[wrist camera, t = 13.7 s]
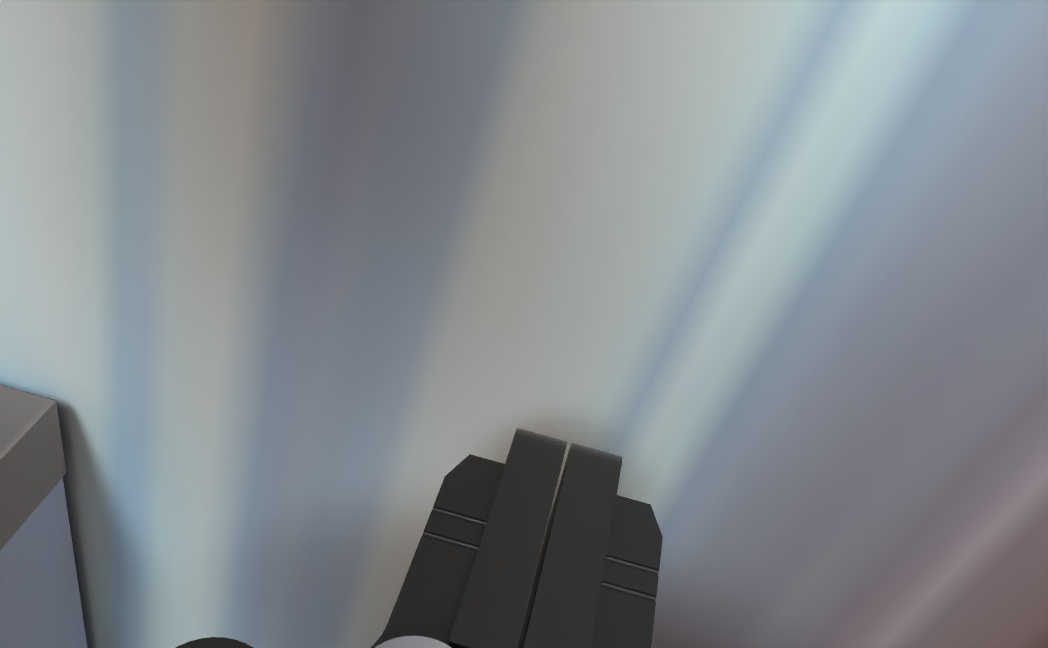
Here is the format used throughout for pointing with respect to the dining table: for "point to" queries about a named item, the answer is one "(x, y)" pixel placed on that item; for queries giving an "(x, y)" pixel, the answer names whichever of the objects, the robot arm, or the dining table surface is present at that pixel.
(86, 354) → the dining table surface
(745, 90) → the dining table surface
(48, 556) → the leg
